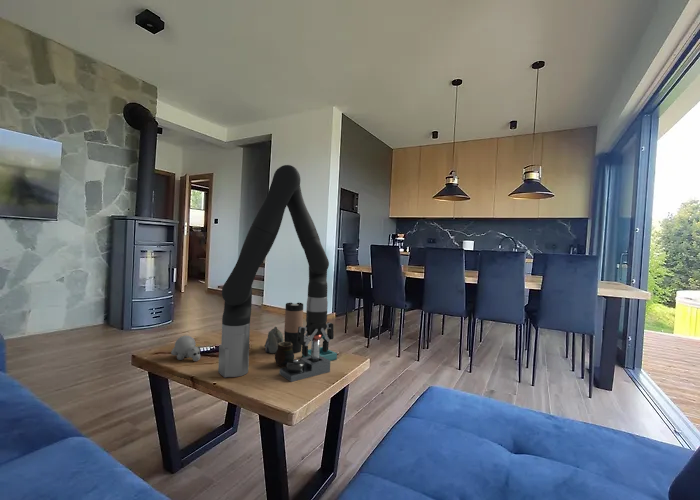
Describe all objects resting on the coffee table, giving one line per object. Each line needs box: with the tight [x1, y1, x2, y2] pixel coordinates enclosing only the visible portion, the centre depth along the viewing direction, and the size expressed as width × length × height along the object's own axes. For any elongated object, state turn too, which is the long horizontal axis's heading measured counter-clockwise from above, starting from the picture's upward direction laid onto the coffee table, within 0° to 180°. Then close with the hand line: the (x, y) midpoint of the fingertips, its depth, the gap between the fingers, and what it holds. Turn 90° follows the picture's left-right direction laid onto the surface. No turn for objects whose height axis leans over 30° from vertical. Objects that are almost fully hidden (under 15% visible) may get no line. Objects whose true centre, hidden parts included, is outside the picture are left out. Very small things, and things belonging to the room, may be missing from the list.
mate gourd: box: [274, 341, 295, 368], centre depth 126 cm, size 7×8×10 cm
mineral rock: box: [264, 326, 284, 354], centre depth 145 cm, size 13×11×10 cm
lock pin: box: [310, 334, 323, 363], centre depth 122 cm, size 4×4×13 cm
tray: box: [301, 346, 338, 362], centre depth 135 cm, size 10×10×2 cm
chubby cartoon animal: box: [170, 335, 201, 362], centre depth 128 cm, size 7×12×8 cm, turn 65°
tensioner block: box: [278, 355, 331, 383], centre depth 119 cm, size 16×8×5 cm, turn 130°
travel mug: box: [283, 302, 304, 354], centre depth 143 cm, size 8×8×20 cm
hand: (315, 353), depth 122 cm, fingers open, 8 cm apart
